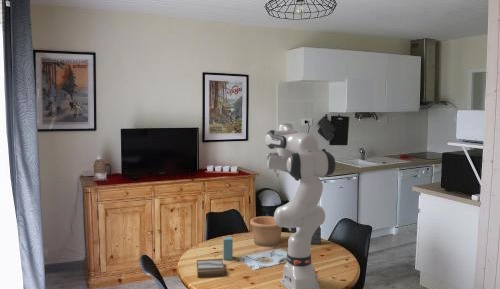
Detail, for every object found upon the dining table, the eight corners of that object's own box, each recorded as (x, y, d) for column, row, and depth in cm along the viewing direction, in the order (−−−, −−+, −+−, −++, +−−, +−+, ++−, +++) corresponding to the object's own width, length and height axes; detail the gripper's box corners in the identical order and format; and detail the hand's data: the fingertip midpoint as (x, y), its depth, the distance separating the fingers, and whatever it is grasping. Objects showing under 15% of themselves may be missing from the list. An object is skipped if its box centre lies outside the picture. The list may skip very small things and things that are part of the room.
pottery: (249, 248, 251) (249, 225, 250) (250, 236, 273) (250, 215, 272) (284, 248, 250) (284, 225, 249) (282, 237, 272) (283, 216, 271)
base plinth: (224, 275, 209) (224, 269, 209) (197, 277, 207) (197, 271, 207) (222, 263, 225) (222, 258, 225) (196, 265, 223) (196, 259, 223)
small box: (320, 241, 264) (320, 225, 263) (321, 244, 258) (321, 228, 257) (304, 240, 265) (304, 225, 264) (304, 244, 259) (304, 228, 258)
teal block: (232, 259, 232) (232, 239, 230) (223, 260, 231) (223, 239, 230) (231, 256, 237) (231, 236, 235) (223, 256, 236) (223, 236, 235)
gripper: (268, 153, 223) (268, 178, 224) (304, 152, 226) (303, 177, 228) (266, 152, 229) (265, 176, 230) (301, 151, 232) (300, 175, 234)
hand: (284, 176), depth 229 cm, fingers open, 8 cm apart
